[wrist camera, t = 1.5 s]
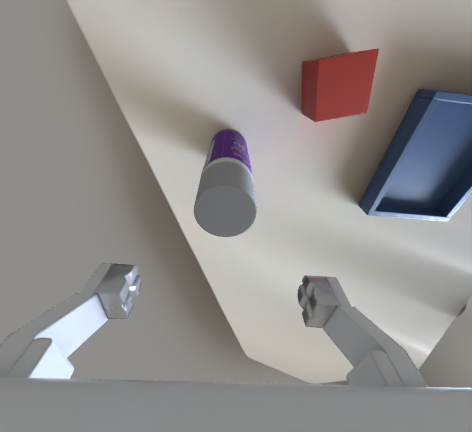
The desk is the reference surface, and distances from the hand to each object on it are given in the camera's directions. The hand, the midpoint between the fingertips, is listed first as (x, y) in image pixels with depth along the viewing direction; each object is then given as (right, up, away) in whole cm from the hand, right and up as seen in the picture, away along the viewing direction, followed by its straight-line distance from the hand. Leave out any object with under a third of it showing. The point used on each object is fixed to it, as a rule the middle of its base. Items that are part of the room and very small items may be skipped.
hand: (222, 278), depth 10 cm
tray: (+27, +11, +18) cm, 34 cm away
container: (0, +12, +17) cm, 21 cm away
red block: (+11, +18, +13) cm, 24 cm away
